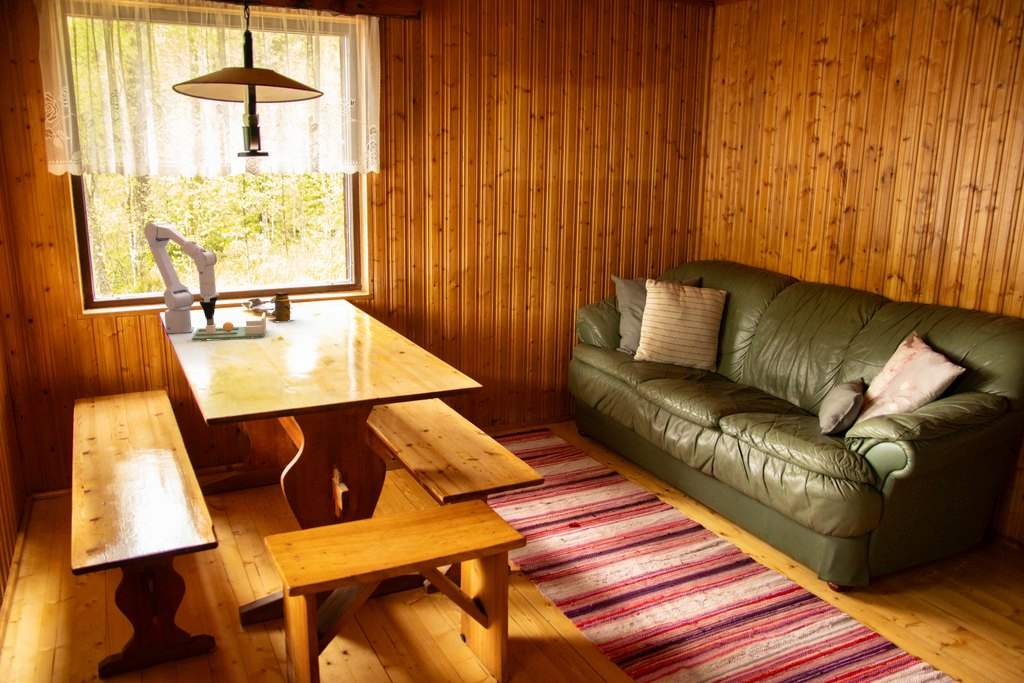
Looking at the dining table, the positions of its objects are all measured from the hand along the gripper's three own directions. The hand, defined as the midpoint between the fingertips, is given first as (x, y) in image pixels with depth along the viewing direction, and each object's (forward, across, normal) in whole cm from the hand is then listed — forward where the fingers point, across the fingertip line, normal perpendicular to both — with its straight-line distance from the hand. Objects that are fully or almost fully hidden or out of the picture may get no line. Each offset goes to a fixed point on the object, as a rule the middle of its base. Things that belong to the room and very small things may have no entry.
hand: (210, 317), depth 318 cm
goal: (+6, 0, -17) cm, 18 cm away
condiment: (+7, +24, -26) cm, 36 cm away
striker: (+6, 0, 0) cm, 6 cm away
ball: (+4, 0, -6) cm, 8 cm away
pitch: (+7, 0, -7) cm, 10 cm away
